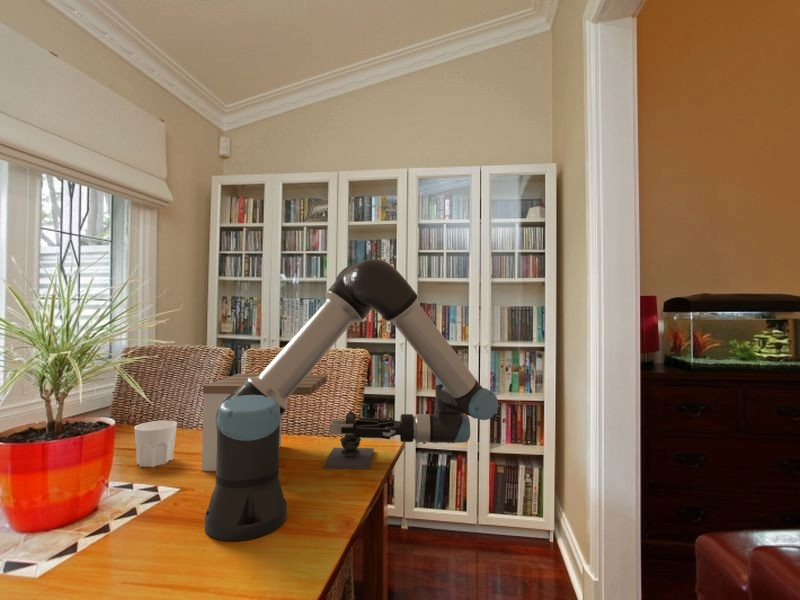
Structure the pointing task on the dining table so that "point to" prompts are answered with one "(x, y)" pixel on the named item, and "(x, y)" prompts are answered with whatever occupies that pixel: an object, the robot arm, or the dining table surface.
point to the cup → (155, 442)
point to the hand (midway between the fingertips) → (331, 426)
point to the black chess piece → (350, 438)
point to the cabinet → (223, 389)
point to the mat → (349, 459)
